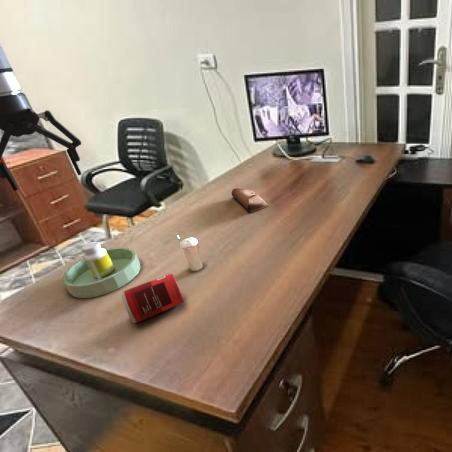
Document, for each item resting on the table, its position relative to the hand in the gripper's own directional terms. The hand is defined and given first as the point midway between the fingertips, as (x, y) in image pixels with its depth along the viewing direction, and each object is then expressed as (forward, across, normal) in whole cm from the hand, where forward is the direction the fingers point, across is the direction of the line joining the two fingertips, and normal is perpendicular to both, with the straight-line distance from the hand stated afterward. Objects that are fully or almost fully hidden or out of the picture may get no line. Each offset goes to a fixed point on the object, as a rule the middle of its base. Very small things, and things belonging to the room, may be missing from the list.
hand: (49, 181), depth 90 cm
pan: (+27, -3, +10) cm, 28 cm away
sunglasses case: (+27, -53, -7) cm, 60 cm away
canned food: (+23, -17, +35) cm, 45 cm away
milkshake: (+27, -24, +23) cm, 43 cm away
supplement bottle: (+26, -3, +10) cm, 28 cm away
